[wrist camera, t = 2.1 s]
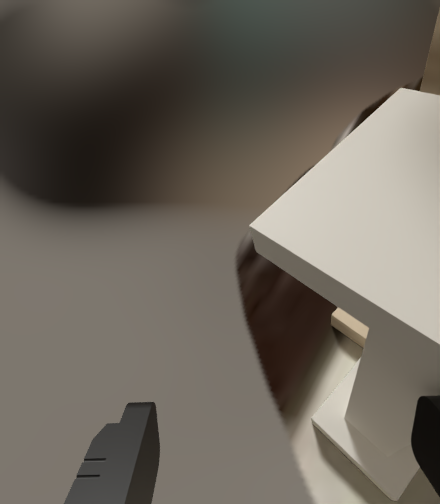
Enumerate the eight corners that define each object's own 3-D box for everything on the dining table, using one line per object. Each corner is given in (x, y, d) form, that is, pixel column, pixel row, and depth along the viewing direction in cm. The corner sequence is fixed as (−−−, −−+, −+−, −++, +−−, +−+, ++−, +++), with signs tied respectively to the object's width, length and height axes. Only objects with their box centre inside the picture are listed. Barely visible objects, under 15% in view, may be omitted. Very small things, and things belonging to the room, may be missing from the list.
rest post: (350, 353, 25) (400, 87, 9) (459, 436, 21) (1011, 206, 4) (300, 412, 24) (248, 225, 7) (407, 516, 19) (955, 665, 3)
